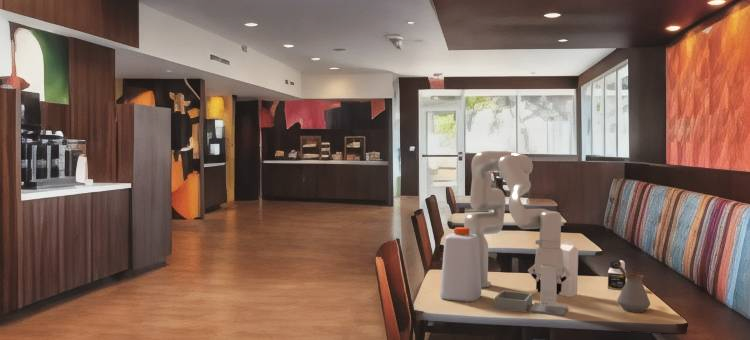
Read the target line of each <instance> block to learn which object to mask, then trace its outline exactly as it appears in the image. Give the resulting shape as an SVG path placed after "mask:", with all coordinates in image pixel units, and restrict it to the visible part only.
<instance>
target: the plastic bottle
mask: <svg viewBox="0 0 750 340" xmlns="http://www.w3.org/2000/svg"><path fill="white" fill-rule="evenodd" d="M469 230H470V229H469V228H466V227H464V226H457V227H455V228H454V232H452V233H449V234H447V235H446V236H445V237H444V242H443V243H444V244H443V255H442V266H441V277H440V279H441V280H440V291H439V296H440V298H441V299H443V300H447V301H455V302H466V303H472V302H476V301H477V300H478V299H479V298H480V297H481V296H482V288H481V275H480V256H479V238H478V236H477V235H475V234H469Z"/></svg>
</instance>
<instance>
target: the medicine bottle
mask: <svg viewBox="0 0 750 340" xmlns="http://www.w3.org/2000/svg"><path fill="white" fill-rule="evenodd" d="M616 262H618V263H619V264H620V265H621V267H622V268H623V269H624V271H625V273H626V274H627V271H626V269H625V268H626V262H625V261H624V260H621V259H611V260H610V261H609V269H608V272H607V289H609V290H610V289H612V290H618V291H619V290H620V291H622V289H623V287H624V285H625V283H626V281H627V278H626V277H625V276H624V274H623V273H622V272H621V271H620V269H619V267H615V266H618V265H617V264H615V263H616ZM614 264H615V265H614Z"/></svg>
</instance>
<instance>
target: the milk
mask: <svg viewBox="0 0 750 340" xmlns="http://www.w3.org/2000/svg"><path fill="white" fill-rule="evenodd" d="M560 248H561V249H562V251H563V260H564V267H565V268H566V269H567V270H568V271H569V272H570V273H571V275H570V276H569V277H568V278H567V279H566V280H565V281H563V282H562V287H561V292H560V293H559V294H557V296H563V297H566V298H570V297H574V296H577V295H578V280H579V279H578V273H579V272H578V271H579V249H578V248H577V247H576V246H575V242H573V241H566V240H562V241H561V244H560ZM565 275H566V273H565V272H563V274H562V276H561V278H562V277H564V276H565ZM557 283H558V280H557Z"/></svg>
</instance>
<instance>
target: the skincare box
mask: <svg viewBox="0 0 750 340" xmlns="http://www.w3.org/2000/svg"><path fill="white" fill-rule="evenodd" d="M540 280H541V291H540V303H541V305H542V306H551V307H556V305H558V304H557V302H558V294H557V267H556V266H541V278H540Z"/></svg>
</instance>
